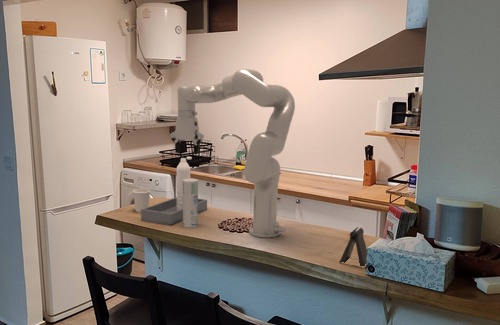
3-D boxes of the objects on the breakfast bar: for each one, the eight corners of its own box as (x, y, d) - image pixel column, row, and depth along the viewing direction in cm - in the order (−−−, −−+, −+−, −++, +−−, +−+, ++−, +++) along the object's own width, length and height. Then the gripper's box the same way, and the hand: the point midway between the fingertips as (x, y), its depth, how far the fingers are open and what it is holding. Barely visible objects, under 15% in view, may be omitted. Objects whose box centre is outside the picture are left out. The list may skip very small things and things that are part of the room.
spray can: (194, 228, 184) (194, 181, 181) (180, 227, 186) (180, 180, 182) (200, 224, 190) (200, 179, 187) (186, 222, 192) (186, 177, 189)
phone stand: (339, 263, 150) (341, 229, 148) (345, 257, 155) (347, 224, 153) (365, 268, 145) (367, 234, 143) (370, 263, 150) (372, 229, 148)
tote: (207, 209, 214) (207, 199, 213) (171, 225, 187) (171, 214, 186) (179, 205, 221) (179, 195, 220) (141, 220, 194) (140, 209, 193)
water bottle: (184, 212, 204) (184, 159, 200) (173, 210, 208) (173, 158, 204) (196, 208, 212) (196, 157, 208) (185, 206, 215) (185, 156, 211)
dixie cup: (140, 214, 204) (139, 193, 202) (129, 210, 209) (128, 190, 207) (154, 210, 210) (154, 190, 209) (143, 207, 215) (143, 187, 214)
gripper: (207, 114, 192) (208, 153, 194) (175, 113, 199) (176, 151, 202) (198, 115, 185) (198, 155, 188) (165, 114, 193) (166, 152, 195)
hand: (187, 153), depth 195 cm, fingers open, 9 cm apart
